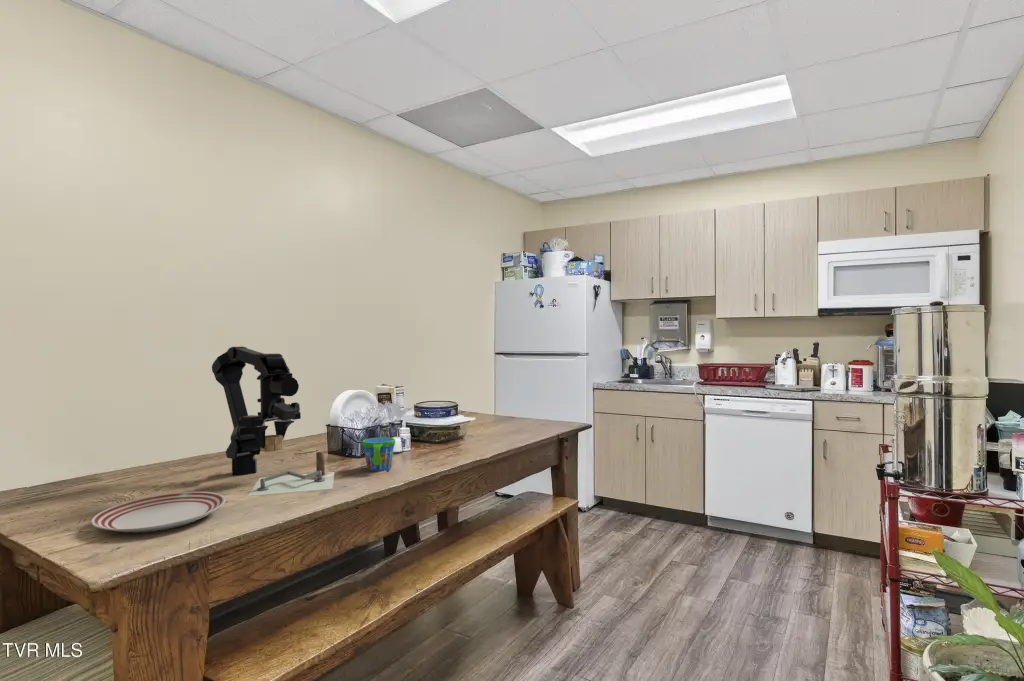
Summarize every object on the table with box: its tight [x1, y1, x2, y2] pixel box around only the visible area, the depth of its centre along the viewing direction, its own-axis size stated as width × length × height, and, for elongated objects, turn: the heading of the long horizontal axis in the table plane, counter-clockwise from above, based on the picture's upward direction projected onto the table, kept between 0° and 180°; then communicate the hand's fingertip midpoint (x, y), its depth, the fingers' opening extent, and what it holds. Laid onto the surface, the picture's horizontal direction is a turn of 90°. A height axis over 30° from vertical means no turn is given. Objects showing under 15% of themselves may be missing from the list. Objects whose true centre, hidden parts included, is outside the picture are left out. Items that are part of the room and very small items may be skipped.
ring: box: [260, 434, 284, 453], centre depth 169 cm, size 6×6×4 cm
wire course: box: [247, 470, 335, 497], centre depth 165 cm, size 22×21×4 cm
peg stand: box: [308, 451, 335, 480], centre depth 172 cm, size 8×8×7 cm
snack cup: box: [361, 436, 396, 472], centre depth 182 cm, size 16×10×10 cm
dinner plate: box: [90, 491, 226, 533], centre depth 135 cm, size 28×27×3 cm
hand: (271, 446), depth 169 cm, fingers closed on ring, 6 cm apart
